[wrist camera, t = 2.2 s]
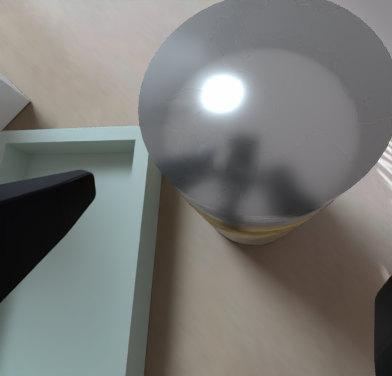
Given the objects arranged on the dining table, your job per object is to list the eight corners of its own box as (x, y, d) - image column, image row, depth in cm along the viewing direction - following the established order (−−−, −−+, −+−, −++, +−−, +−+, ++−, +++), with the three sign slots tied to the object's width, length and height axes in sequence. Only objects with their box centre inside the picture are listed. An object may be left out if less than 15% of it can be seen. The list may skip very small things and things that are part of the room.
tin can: (305, 248, 17) (423, 223, 6) (200, 243, 18) (122, 214, 7) (301, 149, 19) (384, -26, 7) (205, 151, 20) (148, 5, 9)
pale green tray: (139, 422, 16) (116, 457, 13) (-27, 392, 18) (-77, 416, 16) (164, 143, 21) (151, 124, 18) (28, 147, 23) (-3, 131, 20)
